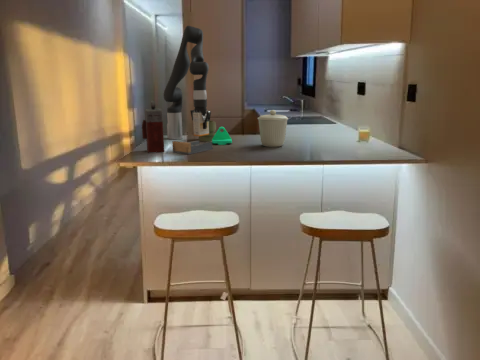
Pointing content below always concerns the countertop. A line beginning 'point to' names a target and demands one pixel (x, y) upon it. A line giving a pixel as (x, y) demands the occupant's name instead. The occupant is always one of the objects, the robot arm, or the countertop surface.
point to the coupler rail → (198, 147)
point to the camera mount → (221, 137)
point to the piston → (211, 132)
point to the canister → (272, 129)
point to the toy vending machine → (153, 129)
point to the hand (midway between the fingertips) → (201, 128)
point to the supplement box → (199, 125)
